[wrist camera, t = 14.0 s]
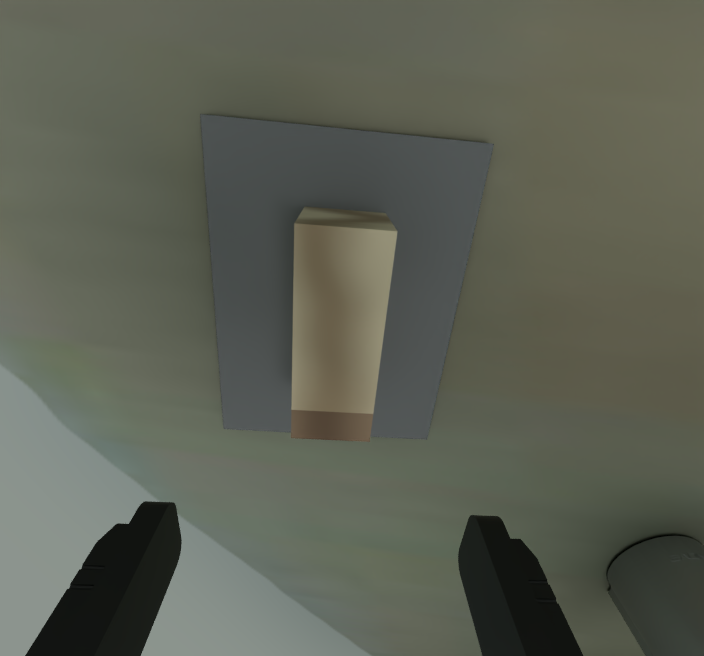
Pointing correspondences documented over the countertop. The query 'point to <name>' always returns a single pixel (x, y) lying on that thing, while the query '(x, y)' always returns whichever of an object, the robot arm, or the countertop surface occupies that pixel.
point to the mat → (278, 255)
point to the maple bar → (338, 320)
